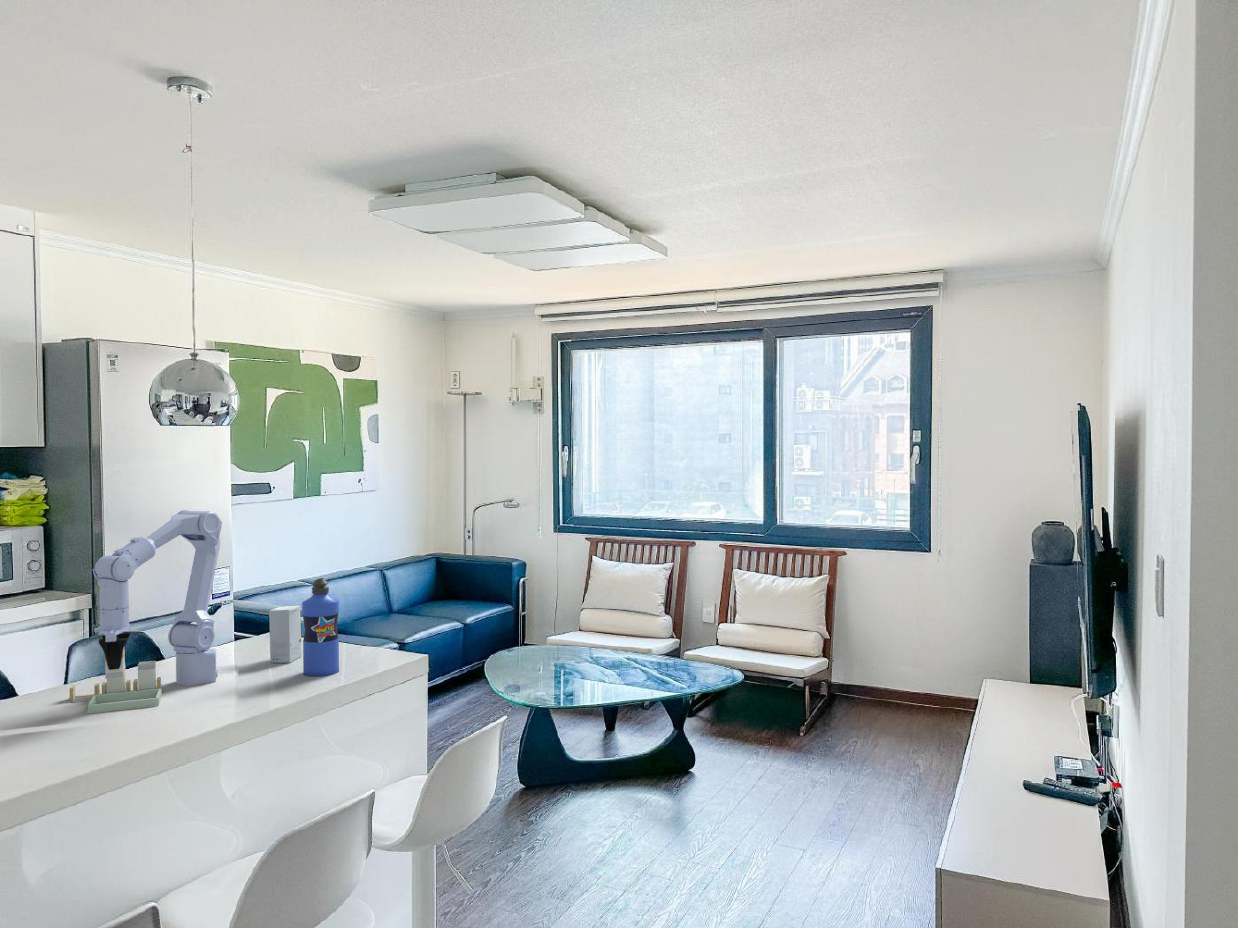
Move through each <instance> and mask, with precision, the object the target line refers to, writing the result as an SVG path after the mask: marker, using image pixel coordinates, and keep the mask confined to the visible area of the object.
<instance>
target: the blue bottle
mask: <svg viewBox="0 0 1238 928" xmlns="http://www.w3.org/2000/svg"><path fill="white" fill-rule="evenodd" d="M328 584H329V582H328V581H327V580H326V579H325V578H323V577H321V578H316V580H314V582H312V585H313V587H312V586H311V593H312V595H311V596H310V597H309V598H307V599H305V600H303V601H302V602H301V615H302V618H303V627H304V634H303V640H302V647H303V648H302V650H303V651H302V658H303V659H302V660H303V661H302V663H303V666H302V667H303V669H302V670H303V675H304V676H305V677H312V678H314V677H315V678H320V677H327V676H333V675H335V674H338V673H339V672H340V641H339V633H338V619H339V613H340V602H339V601H340V600H339V599H337V598H335V597H333V596H331V595H330V594H329V593H330V588H329V586H328Z"/></svg>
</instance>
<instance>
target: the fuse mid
mask: <svg viewBox="0 0 1238 928" xmlns="http://www.w3.org/2000/svg"><path fill="white" fill-rule="evenodd" d="M106 682H107V694H111V693H121V692H126V682H127V679H126V673H125V674H124V676H123V677H117V678H106Z"/></svg>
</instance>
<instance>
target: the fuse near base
mask: <svg viewBox="0 0 1238 928" xmlns="http://www.w3.org/2000/svg"><path fill="white" fill-rule="evenodd" d="M156 662H157V661H156V660H149V661H139V662H138V664H137V679H138V691H141V690H151V689H156V688H157V674H156V673H157V670H156V669H157V668H156V667H157V664H156Z"/></svg>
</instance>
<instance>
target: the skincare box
mask: <svg viewBox="0 0 1238 928" xmlns="http://www.w3.org/2000/svg"><path fill="white" fill-rule="evenodd" d="M268 614H269V617H268V618H269V619H268V620H269V654H270V658H269V659H270V663H273V664H274V663H280V664H290V663H291V662H293V661H295V660H298V658H301V657H303V652H302V627H301V626H302V624H301V623H302V621H301V605H285V606H278V607H275V608H272V609H270V610H269V613H268Z"/></svg>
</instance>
